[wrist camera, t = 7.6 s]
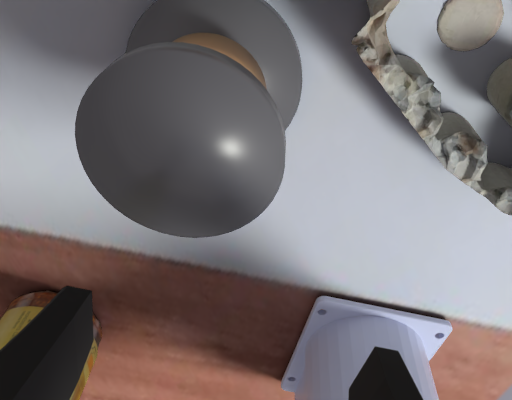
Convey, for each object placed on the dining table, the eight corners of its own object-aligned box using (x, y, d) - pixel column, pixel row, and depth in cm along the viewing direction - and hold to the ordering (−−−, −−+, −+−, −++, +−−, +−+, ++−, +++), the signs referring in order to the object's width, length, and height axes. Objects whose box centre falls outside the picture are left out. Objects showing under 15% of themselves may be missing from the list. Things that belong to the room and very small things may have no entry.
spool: (279, 165, 20) (272, 267, 15) (128, 132, 20) (64, 224, 14) (323, 6, 16) (335, 66, 11) (133, -39, 16) (47, 0, 10)
